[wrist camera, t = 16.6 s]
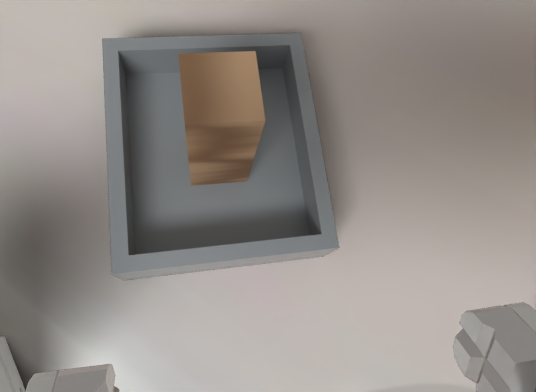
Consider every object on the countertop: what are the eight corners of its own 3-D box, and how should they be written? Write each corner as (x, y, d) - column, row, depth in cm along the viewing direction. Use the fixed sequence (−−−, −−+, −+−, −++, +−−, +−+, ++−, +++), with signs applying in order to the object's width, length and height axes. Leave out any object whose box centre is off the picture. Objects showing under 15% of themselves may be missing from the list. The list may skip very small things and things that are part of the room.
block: (240, 130, 32) (255, 51, 23) (247, 181, 31) (265, 120, 22) (186, 133, 32) (178, 53, 22) (191, 185, 31) (184, 125, 21)
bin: (290, 63, 36) (301, 32, 32) (323, 256, 32) (339, 247, 28) (113, 70, 33) (102, 38, 30) (123, 280, 29) (111, 274, 25)
